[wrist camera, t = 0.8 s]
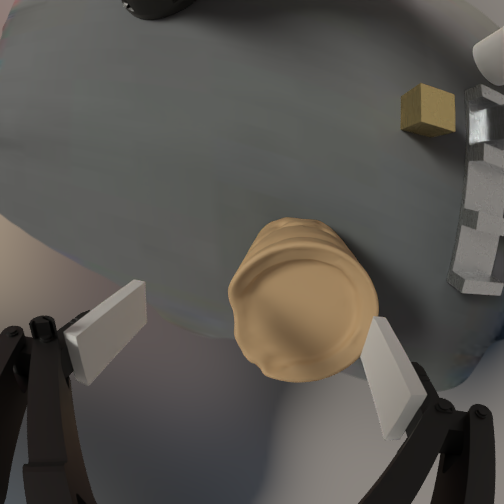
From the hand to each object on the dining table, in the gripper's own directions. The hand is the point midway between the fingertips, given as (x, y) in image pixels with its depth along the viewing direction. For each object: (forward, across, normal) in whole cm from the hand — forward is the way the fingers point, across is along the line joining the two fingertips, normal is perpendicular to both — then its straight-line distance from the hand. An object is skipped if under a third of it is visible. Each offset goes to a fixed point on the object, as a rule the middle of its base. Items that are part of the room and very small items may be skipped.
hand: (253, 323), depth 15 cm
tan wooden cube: (+24, +18, +20) cm, 36 cm away
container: (+24, +3, -3) cm, 25 cm away
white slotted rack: (+24, +31, +12) cm, 41 cm away
